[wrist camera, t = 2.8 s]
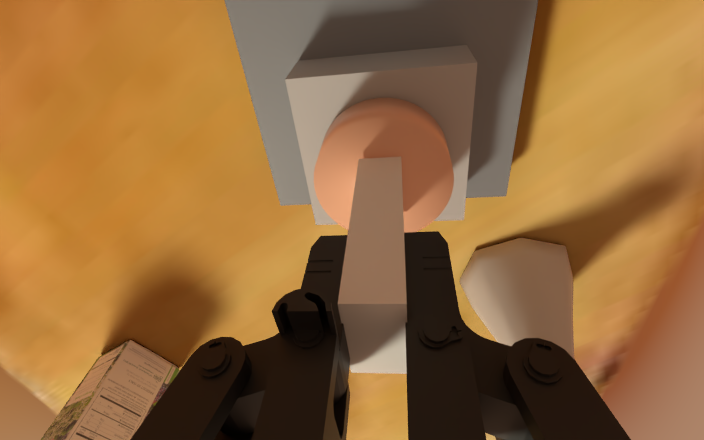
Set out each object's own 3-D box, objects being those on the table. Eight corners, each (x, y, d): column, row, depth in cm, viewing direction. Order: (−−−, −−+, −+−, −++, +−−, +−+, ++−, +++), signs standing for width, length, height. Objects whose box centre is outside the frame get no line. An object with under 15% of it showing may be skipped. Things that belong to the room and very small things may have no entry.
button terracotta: (320, 83, 16) (301, 124, 13) (444, 73, 16) (458, 113, 12) (336, 186, 19) (324, 240, 16) (440, 181, 19) (450, 236, 15)
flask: (582, 230, 23) (682, 390, 15) (561, 308, 27) (630, 463, 19) (459, 238, 24) (492, 389, 16) (458, 311, 28) (483, 459, 21)
